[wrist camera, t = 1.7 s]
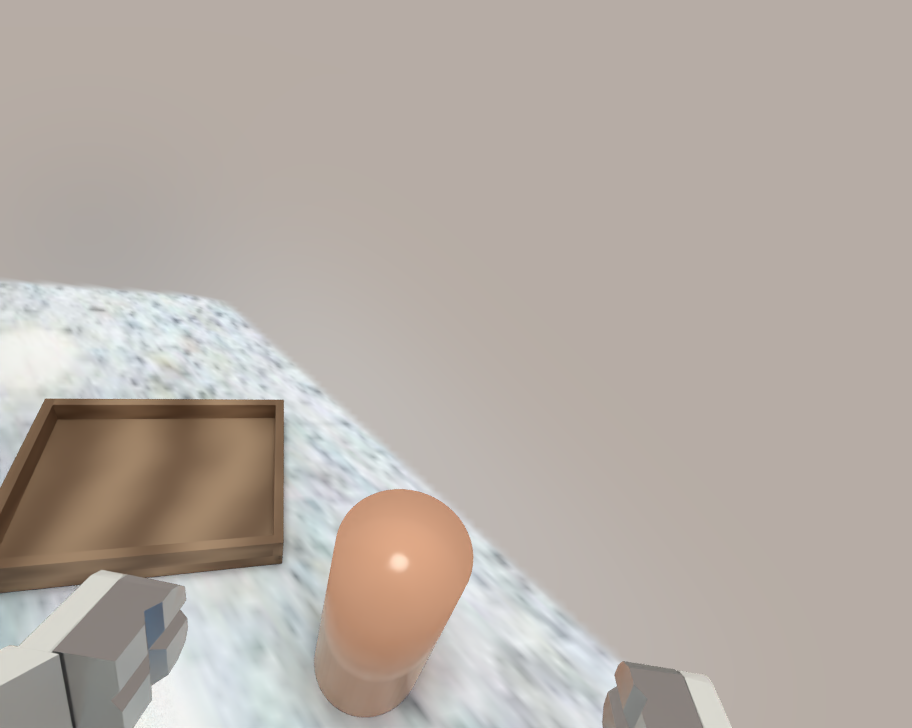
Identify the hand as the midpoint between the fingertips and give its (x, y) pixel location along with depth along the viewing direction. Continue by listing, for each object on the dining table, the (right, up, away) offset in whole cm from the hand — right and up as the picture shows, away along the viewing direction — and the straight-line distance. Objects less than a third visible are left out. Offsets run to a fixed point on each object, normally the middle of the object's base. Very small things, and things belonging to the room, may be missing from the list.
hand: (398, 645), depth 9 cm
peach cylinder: (-4, -12, +21) cm, 25 cm away
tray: (-20, -4, +26) cm, 32 cm away
